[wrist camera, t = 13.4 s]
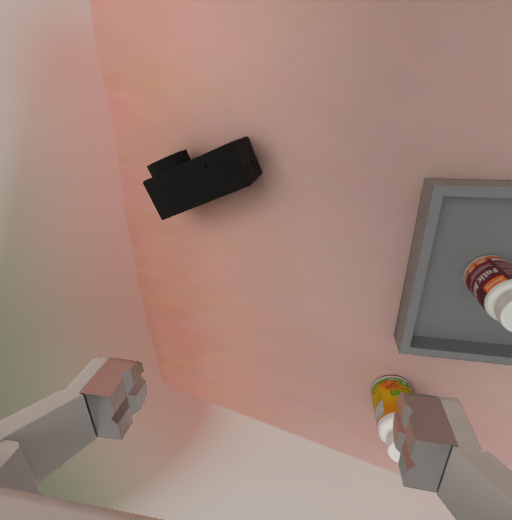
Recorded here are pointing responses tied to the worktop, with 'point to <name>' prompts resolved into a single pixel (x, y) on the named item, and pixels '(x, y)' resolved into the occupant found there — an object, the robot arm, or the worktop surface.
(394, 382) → the supplement bottle
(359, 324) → the worktop surface
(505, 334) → the tray
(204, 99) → the worktop surface
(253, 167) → the digital camera
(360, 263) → the worktop surface
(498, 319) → the pill bottle
